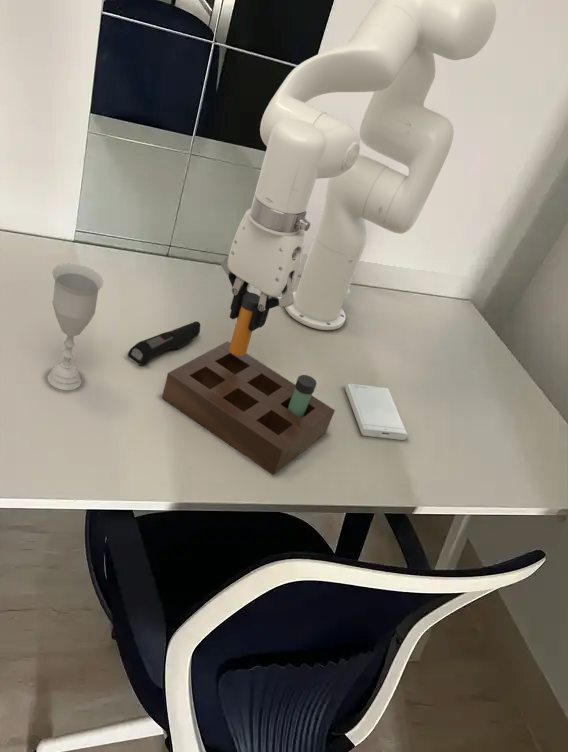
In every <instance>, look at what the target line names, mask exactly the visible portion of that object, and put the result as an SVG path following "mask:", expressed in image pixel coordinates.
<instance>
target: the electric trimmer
mask: <svg viewBox="0 0 568 752" xmlns="http://www.w3.org/2000/svg"><path fill="white" fill-rule="evenodd" d="M200 331H201V323H200V322H199V321H193V322H190V323H187V324H185V325H182V326H180V327H177V328H175V329H172V330H170V331H166V332H162V333H159V334H157V335H155V336H151V337H149V338H146V339H144V340H140V341H138V342H137V343H136V344H134V345H133V346H132V347H131V348H130V349H129V351H128V353H127V358H128V359H129V360H131V362H134V363H135V364H136V365H138V366H139V365H142V366H145V365H146V364H148V362H149V361H150V360H151V358H153V357H155V356H157V355H159V354H162V353H164V352H167V351H168V350H170V349H175V350H178V349H180V348H182V347H183V346H185V345H186V344H187V343H189V342H191V341H192V340H194V339H195V338H197V337H198V336H199V335H200Z"/></svg>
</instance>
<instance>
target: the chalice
mask: <svg viewBox="0 0 568 752" xmlns="http://www.w3.org/2000/svg"><path fill="white" fill-rule="evenodd" d="M51 273H52V277H53V279H54V289H53V297H52V306H53V307H52V308H53V310H54V314H55V315H54V316H55V317H56V321H57V323H58V325H59V327H60V330H61V331H62V333H63V334H65V335H66V339H65V341H64V342H63V345H64V346H65V349H64V350H62V352H61V355H62V357H63V362H59V363H57V364H56V365H54V366H53V368H52V369H51V371H50V373H49V374H48V375H47V381H48V383H49V384H50V385H51V386H52V387H53V388H55V389H58V390H62V391H74V390H76V389H78V388H79V387H81V385H82V377H81V375H80V373H79V369H78V368H77V367H76V366H75V364H73V363H71V361H72V358H73V357H74V356H75V354H74V352H73V348H74V347H75V346H76V344H75V342H74V337H77V336H79V335H81V334H82V332H83V331H84V330H85V329H86V327H87V326H88V325H89V324H90V323H91V322H92V321H91V320H92V319H93V318H94V316H95V314H96V308H97V301H98V295H99V291H100V289H101V288H102V287H103V286H104V279H103V276H102V275H101V274H99V272H97V271H96V270H94V269H93V268H90V267H88V266H86V265H82V264H78V263H71V262H69V263H61V264H58V265H56V266H55V267H54V268H53V269H52V272H51Z"/></svg>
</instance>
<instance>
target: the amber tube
mask: <svg viewBox="0 0 568 752" xmlns="http://www.w3.org/2000/svg"><path fill="white" fill-rule="evenodd" d="M259 299H260V294H257V293H255V292H250V291H249V292H248V293H245V294H244V295H243V298H242V302H241V308H240V311H239V315H238V318H236V323H235V326H234V330H233V333H232V336H231V340H230V342H229V343H230V347H229V351H230V352H231V353H232V354H234V355H236V356H243V355H245V354H246V353H247V351H248V348H249V344H250V340H251V337H252V334H253V331H250V330H249V329H248V327H249V323H250V320H251V317H252V313H253V310H254V308H256V307H258V304H259Z"/></svg>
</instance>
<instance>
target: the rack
mask: <svg viewBox="0 0 568 752" xmlns="http://www.w3.org/2000/svg"><path fill="white" fill-rule="evenodd" d="M230 343H231V342H230V341H228V340H227V341H225V342H223V343H222V344H221V343H220V344H219V345H218V346H216V347H214V348H212V349H210V350H208V351H207V352H205V353H202V354H201V355H198V356H197V357H194V358H192V359H191V360H189V361H188V362H185V363H184V364H182V365H179V366H178V367H176V368H175V369H173V370H171V371H169V372H167V375H166V379H165V384H164V388H163V392H162V396H161V399H162V400H164V401H166V402H167V403H168V404H170V405H171V406H173V407H174V408H176V409H177V410H179V411H180V412H181V413H182V414H184V415H186V416H187V417H188V418H190V419H192V420H193V421H194V422H196V423H197V424H199V425H200V426H202V427H203V428H205V430H208V431H209V432H210V433H212V434H213V435H215V436H216V437H218V438H219V439H221V440H222V441H223V442H224V443H226V444H228V445H229V446H231V447H232V448H233V449H235V450H237V452H240V454H242V455H244V456H245V457H246V458H248V459H249V460H251V461H252V462H254V463H256V464H257V465H258V466H260V467H261V468H263V469H264V470H265V471H267V472H268V473H270V474H271V475H275V474H276V473H277V472H279V471H280V470H281V469H283V468H284V467H285V466H286V465H288V464H289V463H290V462H291V461H293V460H294V459H296V458H297V457H298V456H299V455H301V454H302V453H303V452H304V451H306V450H307V449H308V448H309V447H310V446H312V445H313V444H314V443H316V442H317V441H318V440H319V439H320V438H322V437H323V436H324V435H326V433H327V431H328V428H329V426H330V424H331V421H332V419H333V417H334V414H335V412H336V409H334V408H332V407H331V406H329V405H328V404H326V403H325V402H323V401H322V400H320V399H318V398H317V397H315V396H314V395H312V396H311V398H310V401H309V403H308V406H307V408H306V411H305V414H304V416H303V418H300V417H299V416H297V415H296V414H294V413H293V412H291V411H290V410H288V406H289V403H290V400H291V398H292V395H293V392H294V389H295V385H296V383H294V382H292V381H291V380H289V379H287V378H285V376H283V375H281V374H280V373H278V372H277V371H275V370H273V369H272V368H270V367H268V366H267V365H266V364H264V363H262V362H260V361H259V360H258V359H256V358H254V357H253V356H251V355H249V354H248V353H247V352H246V354H245V355H243V356H236V355H234V354H232V353H231V352H230V351H229V347H230Z"/></svg>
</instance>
